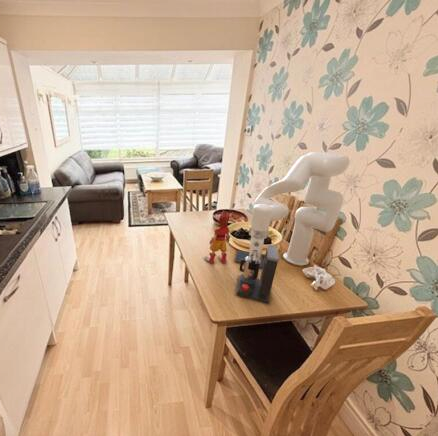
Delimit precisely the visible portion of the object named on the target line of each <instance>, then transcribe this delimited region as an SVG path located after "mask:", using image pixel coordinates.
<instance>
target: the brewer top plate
mask: <svg viewBox="0 0 438 436" xmlns="http://www.w3.org/2000/svg"><path fill="white" fill-rule="evenodd" d="M236 252H237V253H236V256H235V257H236V258H235V261H234V262H235V263H236V264H240V262H241V260H242V259H246V257H248V256H249V253H250V251H246V250H242V249H237V251H236ZM257 258H258V257H257ZM260 260H261V263H260V268H259V269H262V268H263V263H264V254H262V255H261V258H260ZM244 264H245V262H243V265H244Z"/></svg>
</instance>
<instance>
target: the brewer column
mask: <svg viewBox="0 0 438 436" xmlns="http://www.w3.org/2000/svg"><path fill="white" fill-rule="evenodd" d="M279 257H280V256H279V248H278V246H276V245H271V244H267V245H266V250H265V255H264V258H263V268H261V272H260V276H259V280H260V289H259V293H261V294H265V295H268V296H270V295H271V290H272V287H273V283H274V279H275V275H276V272H277V267H278V263H279V260H280V258H279ZM239 278H240V279H241V281H243V282H244V283H246V284H251V285H253V284H256V283H257V281H258V280H257V279H258V278H257V279H255V280H250V279H247V278H245V277H244V276H243V273H241V274H240V275H239Z"/></svg>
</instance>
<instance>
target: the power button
mask: <svg viewBox="0 0 438 436" xmlns="http://www.w3.org/2000/svg"><path fill="white" fill-rule="evenodd" d="M242 290H243V291H248V290H249V286H248V285H246V284H243V285H242Z"/></svg>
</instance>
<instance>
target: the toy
mask: <svg viewBox="0 0 438 436" xmlns="http://www.w3.org/2000/svg"><path fill="white" fill-rule="evenodd" d="M213 217H214V218H215V219H216V220H217V223H218V225H219V227H218V228H217V229H216V228H215V230H214V235H213V237H212V236H211V239H210V240H209V250H210V251H211V252H209V255H207V256H206V257H205V258H204V259H205V260H206V261H207V262H208V263H210V264H214V263H215V258H216V256H217V254H216V252H218V251H220V255H219V260H220V261H221V262H222V264H226V261H227V260H226V258H227V253H226V252H227V249H228V248H227V244H228V243H229V242H230V239H231V235H230V228H229V226H228V224H229V220H230V215H228V214H227V213H226V211H225V210H224V209H223V210H222V211H221V213H220V214H218V213H215V214H214V215H213Z"/></svg>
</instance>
